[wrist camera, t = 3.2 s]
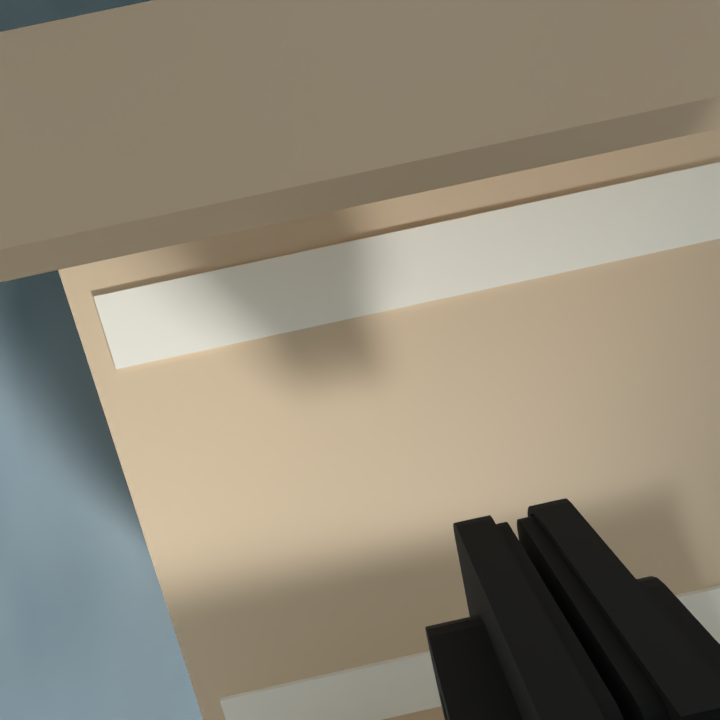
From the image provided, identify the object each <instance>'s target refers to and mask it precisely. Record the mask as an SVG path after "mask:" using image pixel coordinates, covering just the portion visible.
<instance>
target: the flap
mask: <svg viewBox="0 0 720 720" xmlns="http://www.w3.org/2000/svg"><path fill="white" fill-rule="evenodd" d="M715 129H720V0H152V1H147V2H142V3H137V4H132V5H128V6H123V7H118V8H113V9H108V10H103V11H99V12H94V13H89V14H84V15H79V16H74V17H70V18H65V19H60V20H55V21H50V22H46V23H41V24H36V25H31V26H26V27H21V28H17V29H12V30H7V31H2V32H0V282H4V281H9V280H14V279H18V278H23V277H28V276H32V275H37V274H42V273H46V272H51V271H56V270H60V269H65V268H70V267H74V266H79V265H84V264H88V263H93V262H98V261H102V260H107V259H112V258H117V257H121V256H126V255H131V254H135V253H140V252H145V251H149V250H154V249H159V248H163V247H168V246H173V245H177V244H182V243H187V242H191V241H196V240H201V239H205V238H210V237H215V236H219V235H224V234H229V233H233V232H238V231H243V230H248V229H252V228H257V227H262V226H266V225H271V224H276V223H280V222H285V221H290V220H294V219H299V218H304V217H308V216H313V215H318V214H322V213H327V212H332V211H336V210H341V209H346V208H350V207H355V206H360V205H364V204H369V203H374V202H378V201H383V200H388V199H393V198H397V197H402V196H407V195H411V194H416V193H421V192H425V191H430V190H435V189H439V188H444V187H449V186H453V185H458V184H463V183H467V182H472V181H477V180H481V179H486V178H491V177H495V176H500V175H505V174H509V173H514V172H519V171H523V170H528V169H533V168H538V167H542V166H547V165H552V164H556V163H561V162H566V161H570V160H575V159H580V158H584V157H589V156H594V155H598V154H603V153H608V152H612V151H617V150H622V149H626V148H631V147H636V146H640V145H645V144H650V143H654V142H659V141H664V140H669V139H673V138H678V137H683V136H687V135H692V134H697V133H701V132H706V131H711V130H715Z"/></svg>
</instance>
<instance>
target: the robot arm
mask: <svg viewBox="0 0 720 720" xmlns="http://www.w3.org/2000/svg"><path fill="white" fill-rule="evenodd" d="M453 528H454V535H455V541H456V546H457V552H458V557H459V562H460V567H461V573H462V578H463V583H464V589H465V594H466V599H467V605H468V610H469V615H470V617H466V618H462V619H457V620H453V621H449V622H444V623H440V624H435V625H431V626H426V627H425V630H426V635H427V640H428V645H429V650H430V655H431V659H432V664H433V669H434V674H435V678H436V683H437V688H438V692H439V696H440V701H441V705H442V710H443V714H444V718H445V720H720V644H719V643H718V642H717V641H716V640H715V639H714V637H713V636H712V635H711V634H710V633H709V632H708V631H707V630H706V629H705V628H704V627H703V625H702V624H701V623H700V622H699V621H698V620H697V619H696V618H695V617H694V616H693V614H692V613H691V612H690V611H689V610H688V609H687V608H686V607H685V606H684V605H683V603H682V602H681V601H680V600H679V599H678V598H677V597H676V596H675V595H674V594H673V593H672V591H671V590H670V589H669V588H668V587H667V586H666V585H665V584H664V583H663V582H662V581H661V580H659V579H658V578H657V577H653V576H649V577H644V578H640V579H636V578H635V577H634V576H633V575H632V574H631V572H630V571H629V570H628V569H627V568H626V567H625V565H624V564H623V563H622V562H621V561H620V560H619V558H618V557H617V556H616V555H615V554H614V552H613V551H612V550H611V549H610V548H609V547H608V545H607V544H606V543H605V542H604V541H603V539H602V538H601V537H600V536H599V535H598V534H597V532H596V531H595V530H594V529H593V528H592V527H591V525H590V524H589V523H588V522H587V521H586V519H585V518H584V517H583V516H582V515H581V514H580V512H579V511H578V510H577V509H576V508H575V507H574V505H573V504H572V503H571V502H570V501H569V500H568V499H567V498H564V499H560V500H555V501H551V502H546V503H542V504H537V505H533V506H529V507H528V517H525V518H521V519H518V520H517V531H518V537H519V540H518V538H517V537H516V535H515V533H514V532H513V530H512V528H511V527H510V525H509V524H508V522H503V523H498V524H496V523H495V522H494V520H493V518H492V517H491V515H488V516H483V517H479V518H474V519H470V520H465V521H461V522H456V523H453Z"/></svg>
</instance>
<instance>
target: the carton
mask: <svg viewBox="0 0 720 720" xmlns="http://www.w3.org/2000/svg"><path fill="white" fill-rule="evenodd" d="M58 271H59V274H60V277H61V281H62V284H63V287H64V290H65V293H66V296H67V299H68V302H69V305H70V308H71V311H72V315H73V318H74V321H75V324H76V327H77V330H78V333H79V336H80V339H81V342H82V345H83V349H84V352H85V355H86V358H87V361H88V364H89V367H90V370H91V373H92V376H93V379H94V383H95V386H96V389H97V392H98V395H99V398H100V401H101V404H102V407H103V410H104V413H105V417H106V420H107V423H108V426H109V429H110V432H111V435H112V438H113V441H114V444H115V447H116V451H117V454H118V457H119V460H120V463H121V466H122V469H123V472H124V475H125V478H126V481H127V485H128V488H129V491H130V494H131V497H132V500H133V503H134V506H135V509H136V512H137V516H138V519H139V522H140V525H141V528H142V531H143V534H144V537H145V540H146V543H147V546H148V550H149V553H150V556H151V559H152V562H153V565H154V568H155V571H156V574H157V577H158V580H159V584H160V587H161V590H162V593H163V596H164V599H165V602H166V605H167V608H168V611H169V614H170V618H171V621H172V624H173V627H174V630H175V633H176V636H177V639H178V642H179V645H180V648H181V652H182V655H183V658H184V661H185V664H186V667H187V670H188V673H189V676H190V679H191V682H192V686H193V689H194V692H195V695H196V698H197V701H198V704H199V707H200V710H201V713H202V716H203V720H445V718H444V714H443V710H442V705H441V701H440V696H439V692H438V688H437V683H436V678H435V674H434V669H433V664H432V659H431V655H430V650H429V645H428V640H427V635H426V630H425V627H426V626H431V625H435V624H440V623H444V622H449V621H453V620H457V619H462V618H466V617H470V615H469V610H468V605H467V599H466V594H465V589H464V583H463V578H462V573H461V567H460V562H459V557H458V552H457V546H456V541H455V535H454V528H453V523H456V522H461V521H465V520H470V519H474V518H479V517H483V516H488V515H491V517H492V518H493V520H494V522H495V523H496V524H498V523H503V522H508V524H509V525H510V527H511V528H512V530H513V532H514V533H515V535H516V537H517V538H518V540H519V537H518V531H517V520H518V519H521V518H525V517H528V507H529V506H533V505H537V504H542V503H546V502H551V501H555V500H560V499H564V498H567V499H568V500H569V501H570V502H571V503H572V504H573V505H574V507H575V508H576V509H577V510H578V511H579V512H580V514H581V515H582V516H583V517H584V518H585V519H586V521H587V522H588V523H589V524H590V525H591V527H592V528H593V529H594V530H595V531H596V532H597V534H598V535H599V536H600V537H601V538H602V539H603V541H604V542H605V543H606V544H607V545H608V547H609V548H610V549H611V550H612V551H613V552H614V554H615V555H616V556H617V557H618V558H619V560H620V561H621V562H622V563H623V564H624V565H625V567H626V568H627V569H628V570H629V571H630V572H631V574H632V575H633V576H634V577H635V578H636V579H640V578H644V577H649V576H653V577H657V578H658V579H659V580H661V581H662V582H663V583H664V584H665V585H666V586H667V587H668V588H669V589H670V590H671V591H672V593H673V594H674V595H675V596H676V597H677V598H678V599H679V600H680V601H681V602H682V603H683V605H684V606H685V607H686V608H687V609H688V610H689V611H690V612H691V613H692V614H693V616H694V617H695V618H696V619H697V620H698V621H699V622H700V623H701V624H702V625H703V627H704V628H705V629H706V630H707V631H708V632H709V633H710V634H711V635H712V636H713V637H714V639H715V640H716V641H717V642H718V643H719V644H720V129H715V130H711V131H706V132H701V133H697V134H692V135H687V136H683V137H678V138H673V139H669V140H664V141H659V142H654V143H650V144H645V145H640V146H636V147H631V148H626V149H622V150H617V151H612V152H608V153H603V154H598V155H594V156H589V157H584V158H580V159H575V160H570V161H566V162H561V163H556V164H552V165H547V166H542V167H538V168H533V169H528V170H523V171H519V172H514V173H509V174H505V175H500V176H495V177H491V178H486V179H481V180H477V181H472V182H467V183H463V184H458V185H453V186H449V187H444V188H439V189H435V190H430V191H425V192H421V193H416V194H411V195H407V196H402V197H397V198H393V199H388V200H383V201H378V202H374V203H369V204H364V205H360V206H355V207H350V208H346V209H341V210H336V211H332V212H327V213H322V214H318V215H313V216H308V217H304V218H299V219H294V220H290V221H285V222H280V223H276V224H271V225H266V226H262V227H257V228H252V229H248V230H243V231H238V232H233V233H229V234H224V235H219V236H215V237H210V238H205V239H201V240H196V241H191V242H187V243H182V244H177V245H173V246H168V247H163V248H159V249H154V250H149V251H145V252H140V253H135V254H131V255H126V256H121V257H117V258H112V259H107V260H102V261H98V262H93V263H88V264H84V265H79V266H74V267H70V268H65V269H60V270H58Z"/></svg>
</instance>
